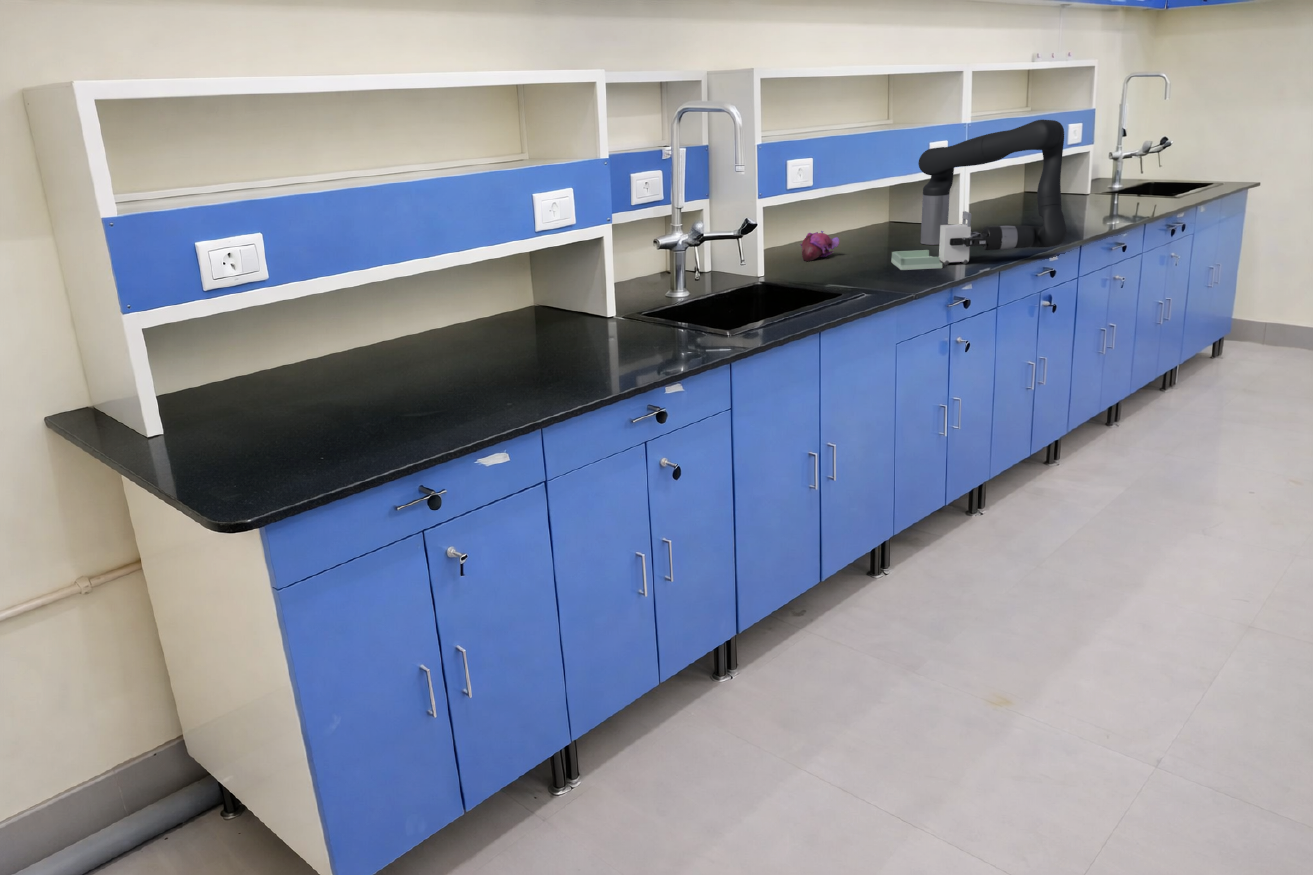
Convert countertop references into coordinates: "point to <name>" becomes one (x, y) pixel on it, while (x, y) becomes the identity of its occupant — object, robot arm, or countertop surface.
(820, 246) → the anatomical model
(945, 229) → the grey box with feet
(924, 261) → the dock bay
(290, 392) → the countertop surface
